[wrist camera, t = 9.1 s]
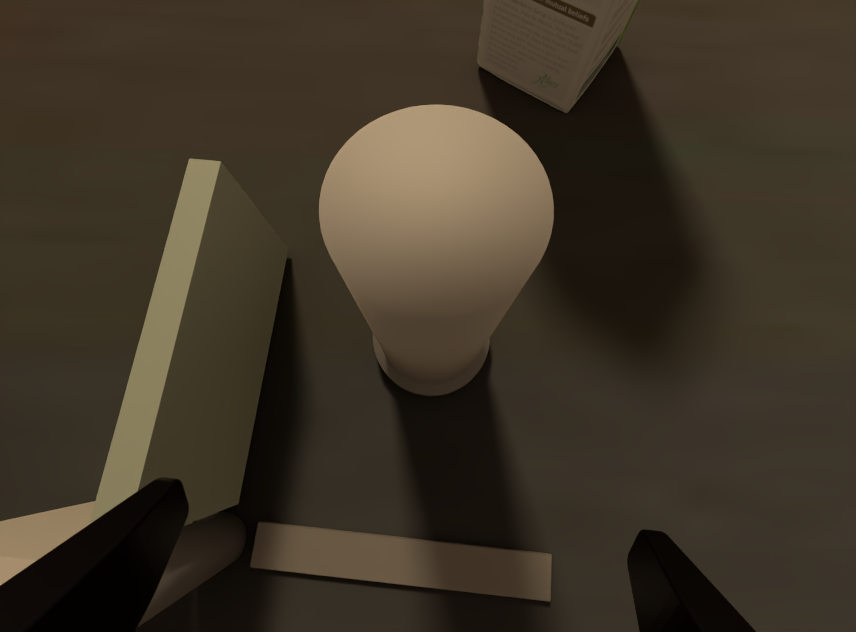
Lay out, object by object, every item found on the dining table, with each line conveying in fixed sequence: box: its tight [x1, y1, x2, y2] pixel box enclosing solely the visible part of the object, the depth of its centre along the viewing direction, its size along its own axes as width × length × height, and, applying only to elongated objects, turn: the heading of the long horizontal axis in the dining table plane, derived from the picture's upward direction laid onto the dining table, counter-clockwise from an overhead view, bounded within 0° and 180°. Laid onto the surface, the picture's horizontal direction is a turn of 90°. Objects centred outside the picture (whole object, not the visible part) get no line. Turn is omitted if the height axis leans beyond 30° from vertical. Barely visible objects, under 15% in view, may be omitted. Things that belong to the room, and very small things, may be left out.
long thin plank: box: [0, 501, 552, 627], centre depth 13 cm, size 18×2×8 cm, turn 84°
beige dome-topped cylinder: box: [319, 105, 554, 396], centre depth 14 cm, size 5×5×12 cm
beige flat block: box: [90, 159, 288, 525], centre depth 16 cm, size 11×2×7 cm, turn 174°
